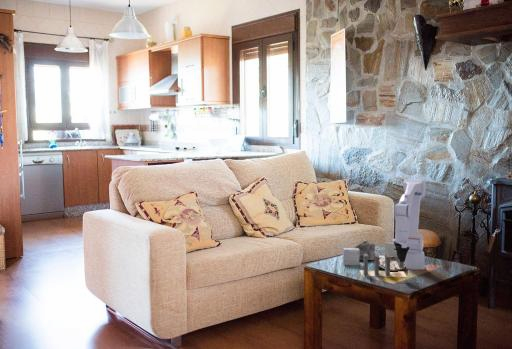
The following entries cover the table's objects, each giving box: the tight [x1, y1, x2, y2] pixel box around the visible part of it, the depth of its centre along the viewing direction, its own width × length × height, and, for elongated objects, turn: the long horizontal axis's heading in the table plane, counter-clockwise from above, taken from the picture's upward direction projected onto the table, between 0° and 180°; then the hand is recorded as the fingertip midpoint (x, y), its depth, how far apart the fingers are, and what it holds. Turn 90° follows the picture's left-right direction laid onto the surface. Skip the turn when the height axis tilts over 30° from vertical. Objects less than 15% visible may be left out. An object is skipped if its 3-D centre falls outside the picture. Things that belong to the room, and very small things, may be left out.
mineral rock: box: [354, 240, 376, 261], centre depth 275 cm, size 13×11×10 cm
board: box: [359, 269, 408, 278], centre depth 246 cm, size 20×9×1 cm, turn 84°
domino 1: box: [373, 253, 380, 277], centre depth 245 cm, size 2×5×9 cm, turn 174°
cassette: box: [384, 242, 397, 257], centre depth 279 cm, size 12×2×8 cm, turn 63°
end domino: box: [362, 254, 369, 275], centre depth 245 cm, size 2×5×9 cm, turn 174°
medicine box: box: [342, 247, 360, 266], centre depth 263 cm, size 8×4×9 cm, turn 84°
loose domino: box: [397, 256, 405, 269], centre depth 237 cm, size 2×5×9 cm, turn 174°
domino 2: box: [384, 253, 391, 277], centre depth 244 cm, size 2×5×9 cm, turn 174°
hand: (401, 260), depth 237 cm, fingers closed on loose domino, 5 cm apart
